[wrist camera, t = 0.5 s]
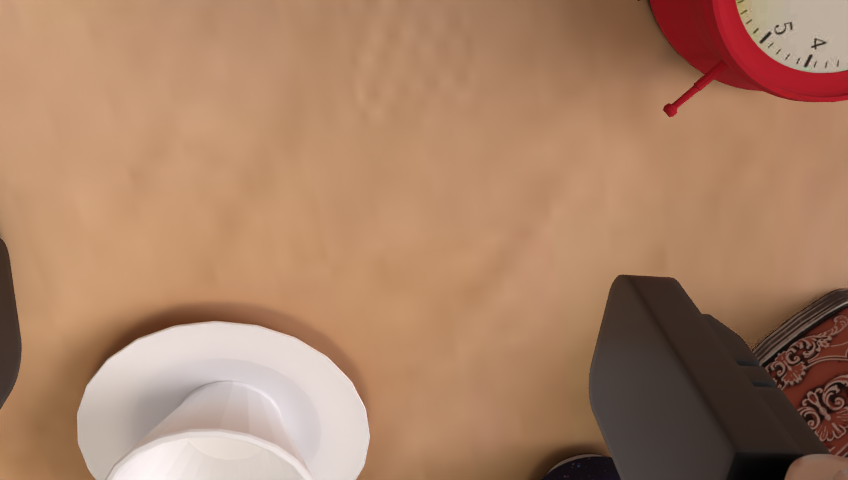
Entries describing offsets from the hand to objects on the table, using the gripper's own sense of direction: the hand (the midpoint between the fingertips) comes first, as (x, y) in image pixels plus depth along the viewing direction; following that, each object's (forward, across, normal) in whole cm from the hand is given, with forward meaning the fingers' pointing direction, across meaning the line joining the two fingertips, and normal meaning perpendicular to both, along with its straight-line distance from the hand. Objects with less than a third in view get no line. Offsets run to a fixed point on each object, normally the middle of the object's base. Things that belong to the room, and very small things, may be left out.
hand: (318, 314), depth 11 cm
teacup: (+18, +4, +17) cm, 26 cm away
